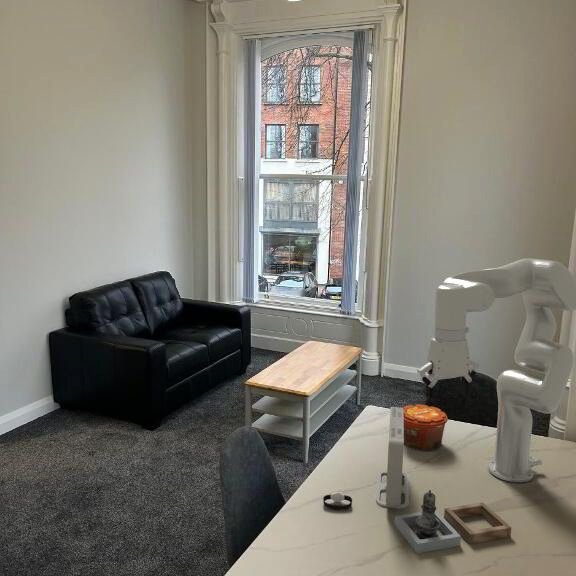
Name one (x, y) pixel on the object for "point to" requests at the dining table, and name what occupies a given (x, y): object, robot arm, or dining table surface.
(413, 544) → the slate-grey collar
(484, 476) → the dining table surface
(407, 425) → the food container
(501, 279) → the robot arm
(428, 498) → the marbled chess piece
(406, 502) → the network device
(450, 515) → the walnut collar
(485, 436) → the dining table surface
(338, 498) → the watch
